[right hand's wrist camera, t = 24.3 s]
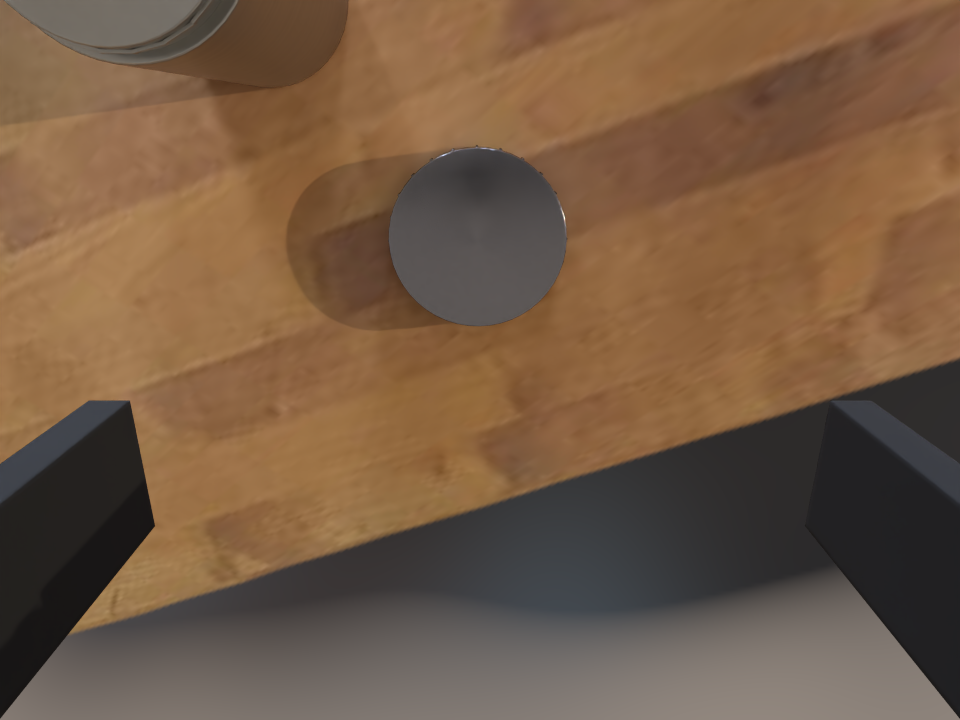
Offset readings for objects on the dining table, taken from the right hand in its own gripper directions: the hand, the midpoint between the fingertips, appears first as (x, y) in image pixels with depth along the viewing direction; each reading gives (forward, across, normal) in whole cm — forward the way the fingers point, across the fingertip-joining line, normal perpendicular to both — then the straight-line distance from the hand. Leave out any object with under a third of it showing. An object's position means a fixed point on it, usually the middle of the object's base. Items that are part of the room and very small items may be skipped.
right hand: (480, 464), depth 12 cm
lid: (+26, 0, 0) cm, 26 cm away
